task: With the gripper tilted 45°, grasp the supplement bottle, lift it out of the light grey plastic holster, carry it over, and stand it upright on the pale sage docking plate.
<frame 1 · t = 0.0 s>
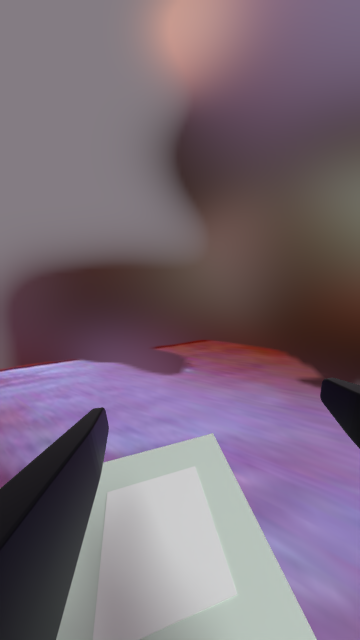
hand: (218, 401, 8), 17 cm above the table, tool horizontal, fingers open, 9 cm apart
docking plate: (160, 541, 17), on the table
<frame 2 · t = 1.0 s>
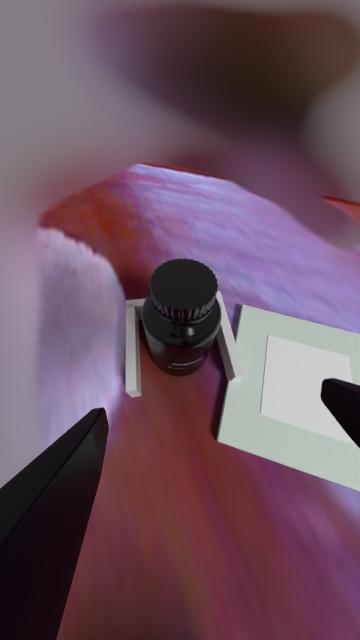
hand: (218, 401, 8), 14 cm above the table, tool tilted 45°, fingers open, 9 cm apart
holster: (179, 349, 24), on the table
docking plate: (302, 385, 22), on the table
supplement bottle: (179, 349, 24), on the table
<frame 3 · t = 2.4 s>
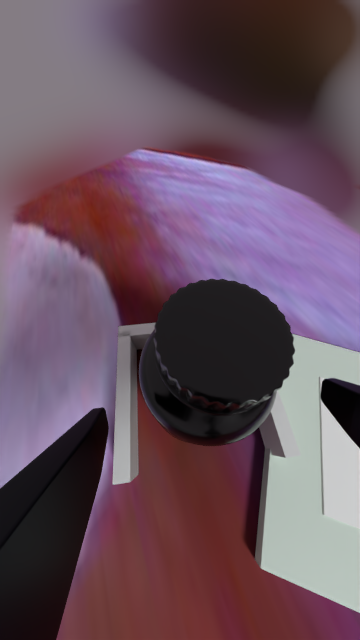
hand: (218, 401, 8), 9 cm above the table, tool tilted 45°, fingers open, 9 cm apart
holster: (194, 395, 17), on the table
supplement bottle: (193, 396, 17), on the table
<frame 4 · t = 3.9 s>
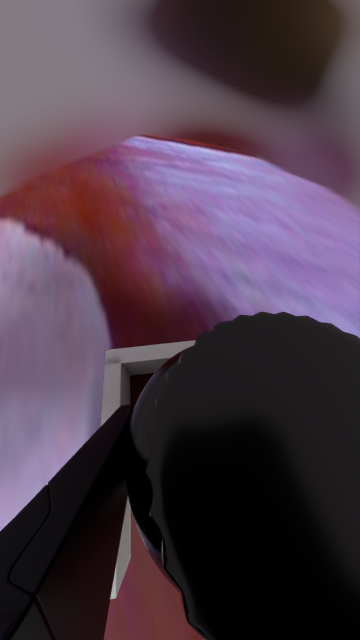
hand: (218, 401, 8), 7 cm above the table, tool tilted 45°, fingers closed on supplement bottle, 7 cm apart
holster: (203, 439, 13), on the table
supplement bottle: (203, 439, 13), on the table, touching gripper
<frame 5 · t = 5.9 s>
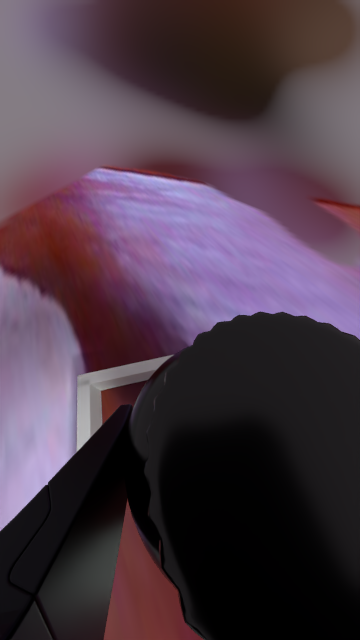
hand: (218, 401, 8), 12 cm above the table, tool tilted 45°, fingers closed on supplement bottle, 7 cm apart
holster: (156, 431, 18), on the table
supplement bottle: (202, 438, 13), point 5 cm above the table, touching gripper
when the fingers open (8 cm above the table, at t = 8.3 s): supplement bottle stays where it is, resting on docking plate.
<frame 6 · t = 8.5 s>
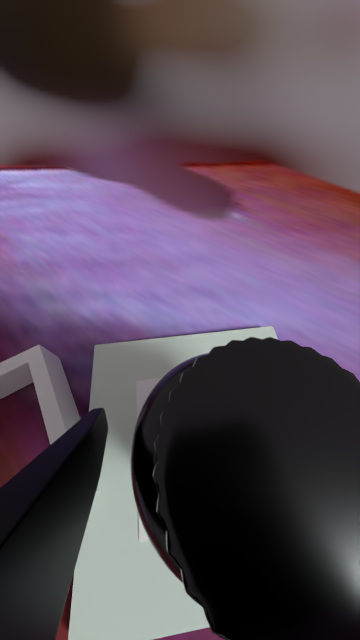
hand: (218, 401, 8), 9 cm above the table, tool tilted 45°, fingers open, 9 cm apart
docking plate: (201, 438, 15), on the table
supplement bottle: (202, 442, 14), point 1 cm above the table, touching docking plate
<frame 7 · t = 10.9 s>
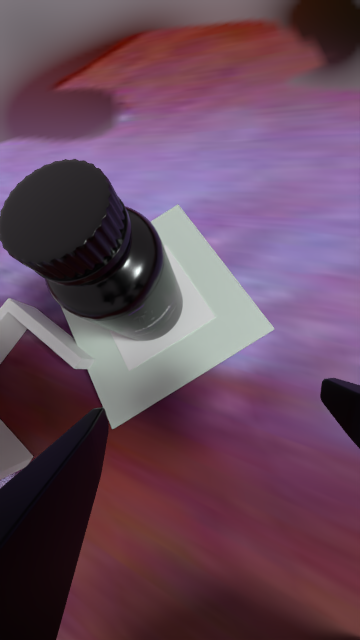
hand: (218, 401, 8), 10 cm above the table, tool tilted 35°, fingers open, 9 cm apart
holster: (34, 381, 20), on the table
docking plate: (152, 307, 20), on the table
supplement bottle: (149, 306, 19), point 1 cm above the table, touching docking plate
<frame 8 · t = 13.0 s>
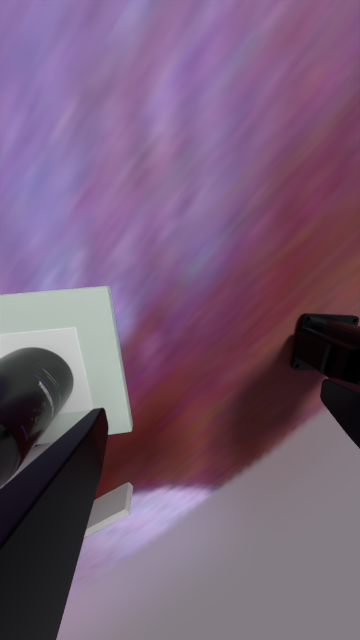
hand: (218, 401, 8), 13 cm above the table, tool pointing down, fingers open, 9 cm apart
holster: (73, 475, 24), on the table
docking plate: (43, 370, 21), on the table
supplement bottle: (40, 375, 20), point 1 cm above the table, touching docking plate
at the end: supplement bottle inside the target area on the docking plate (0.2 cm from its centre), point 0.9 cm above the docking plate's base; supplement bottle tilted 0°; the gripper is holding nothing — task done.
